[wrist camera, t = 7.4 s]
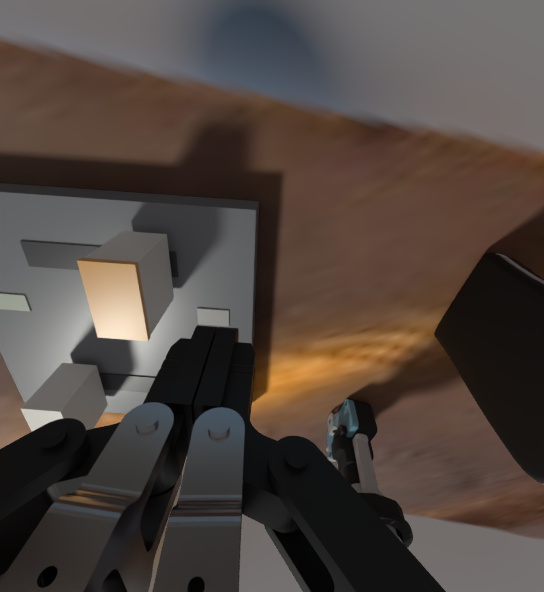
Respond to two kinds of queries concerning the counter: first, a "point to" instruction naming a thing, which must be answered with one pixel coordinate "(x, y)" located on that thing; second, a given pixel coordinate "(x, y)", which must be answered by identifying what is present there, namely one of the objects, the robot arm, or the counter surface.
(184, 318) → the breaker board
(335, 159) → the counter surface
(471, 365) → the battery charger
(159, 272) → the handle
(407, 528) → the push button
